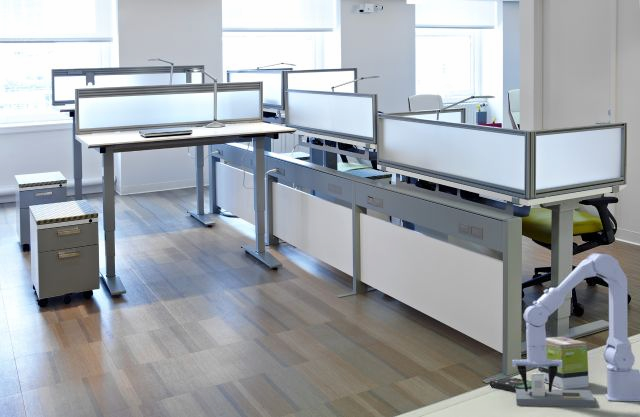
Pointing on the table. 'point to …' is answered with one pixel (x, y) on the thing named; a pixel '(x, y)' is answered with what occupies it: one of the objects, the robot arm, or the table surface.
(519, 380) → the disk drive
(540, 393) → the plug
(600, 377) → the table surface
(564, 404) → the panel
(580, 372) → the tea box
